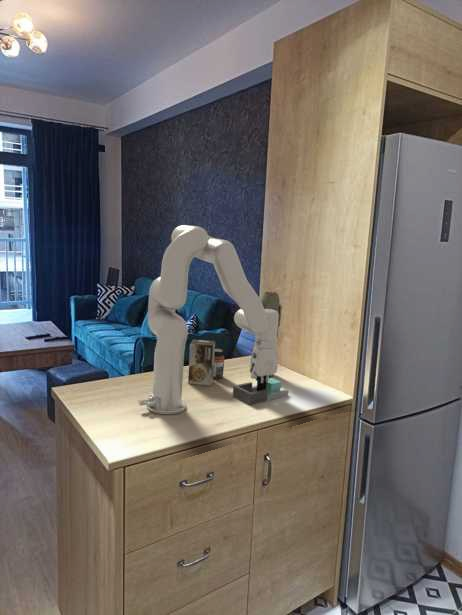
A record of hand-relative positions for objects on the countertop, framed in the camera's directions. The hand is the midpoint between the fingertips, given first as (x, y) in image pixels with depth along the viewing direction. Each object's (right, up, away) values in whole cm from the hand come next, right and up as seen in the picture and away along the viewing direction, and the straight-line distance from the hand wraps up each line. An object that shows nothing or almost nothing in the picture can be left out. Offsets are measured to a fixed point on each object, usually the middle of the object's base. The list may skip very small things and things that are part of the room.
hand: (260, 391), depth 166 cm
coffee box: (-23, +2, +10) cm, 25 cm away
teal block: (+4, -1, +4) cm, 6 cm away
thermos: (+3, +2, +24) cm, 25 cm away
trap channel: (0, -2, 0) cm, 2 cm away
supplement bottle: (-17, +3, +17) cm, 24 cm away
